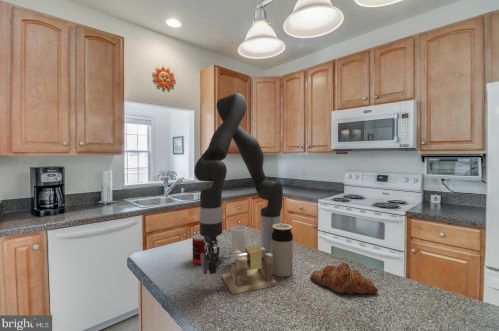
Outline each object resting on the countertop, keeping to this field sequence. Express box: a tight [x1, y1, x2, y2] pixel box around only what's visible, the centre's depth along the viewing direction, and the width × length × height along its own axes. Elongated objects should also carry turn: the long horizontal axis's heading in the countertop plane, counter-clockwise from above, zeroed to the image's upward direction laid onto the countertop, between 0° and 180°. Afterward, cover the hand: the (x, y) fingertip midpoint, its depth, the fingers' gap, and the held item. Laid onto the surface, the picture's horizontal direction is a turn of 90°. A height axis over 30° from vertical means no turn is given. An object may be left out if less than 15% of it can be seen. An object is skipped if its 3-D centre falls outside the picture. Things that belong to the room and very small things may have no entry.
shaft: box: [200, 250, 267, 275], centre depth 88 cm, size 23×6×5 cm, turn 110°
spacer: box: [245, 245, 261, 270], centre depth 90 cm, size 4×6×6 cm, turn 20°
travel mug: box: [272, 223, 294, 278], centre depth 96 cm, size 8×8×18 cm
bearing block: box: [221, 246, 277, 295], centre depth 89 cm, size 16×12×10 cm
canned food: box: [192, 233, 206, 266], centre depth 107 cm, size 8×8×11 cm
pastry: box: [309, 262, 379, 296], centre depth 86 cm, size 17×15×8 cm
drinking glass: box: [230, 225, 248, 253], centre depth 104 cm, size 7×7×15 cm
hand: (211, 270), depth 85 cm, fingers closed on shaft, 3 cm apart
